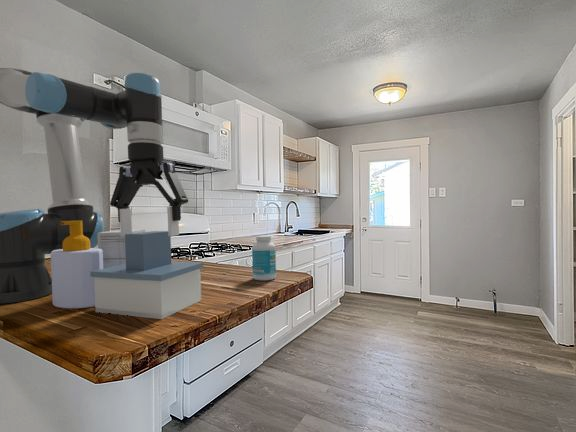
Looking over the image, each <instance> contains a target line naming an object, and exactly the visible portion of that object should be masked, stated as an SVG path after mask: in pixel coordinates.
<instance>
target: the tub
mask: <svg viewBox="0 0 576 432" xmlns="http://www.w3.org/2000/svg"><path fill="white" fill-rule="evenodd" d="M201 275H202V274H201V268H200V269H197V270H194V271H191V272H188V273H185V274H182V275H179V276H176V277H172V278H169V279H166V280H163V281H151V280H134V279H118V278H101V277H94V284H95V306H94V307H95V308H94V309H95V313H99V312H100V314H108V313H111V314H110V315H117V314H118V316H127V315H128V316H127V317H129V316H131V317H137V318H145V319H146V318H147V319H157V320H158V319H159V320H164V319H166V318H168V317H169V316H172V315H174V314H175V313H178V312H179V311H182V310H184V309H186V308H188V307H190V306H192V305H195V304H196V303H199V302H200V301H202V282H201V280H202V279H201Z"/></svg>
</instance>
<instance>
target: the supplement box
mask: <svg viewBox="0 0 576 432" xmlns="http://www.w3.org/2000/svg"><path fill="white" fill-rule="evenodd" d="M142 232H146V229H132V233H142ZM97 239H98V245H97V248H98V249H102V251H103V269H104V268H108V267H113V266H118V265H122V264H126V255H125V236H123V237H121V233H120V229H119V230H110V231H103V232H99V233H97Z"/></svg>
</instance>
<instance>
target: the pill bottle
mask: <svg viewBox="0 0 576 432" xmlns="http://www.w3.org/2000/svg"><path fill="white" fill-rule="evenodd" d="M255 239H256V242H255V243H254V244H252V246H251V254H252V255H251V257H252V260H251V262H252V278H253V279H254V280H256V281H272V280H274V279H276V277H277V258H276V257H277V256H276V255H277V254H276V253H277V252H276V251H277V250H276V245H275V244H274V243H273V242H271V240H272V236H271V235H257V236H256V237H255Z"/></svg>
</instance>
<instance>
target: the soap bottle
mask: <svg viewBox="0 0 576 432" xmlns="http://www.w3.org/2000/svg"><path fill="white" fill-rule="evenodd" d="M60 223H61V225H70V236H68V237H66V238H65V239H64V241H63V244H62V245H63V249H58V250H54V251H52V252H51V254H50V270H51V279H52V293H51V294H52V305H53V306H54V307H56V308H61V309H86V308H93V307H95V284H94V277H90V271H95V270H99V269H103V251H102V249H98V247H97V248H96V247H94V248H91V246H90V240H89V238H88V237H86V236H84V235H83V226H82V221H61V222H60Z"/></svg>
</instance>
